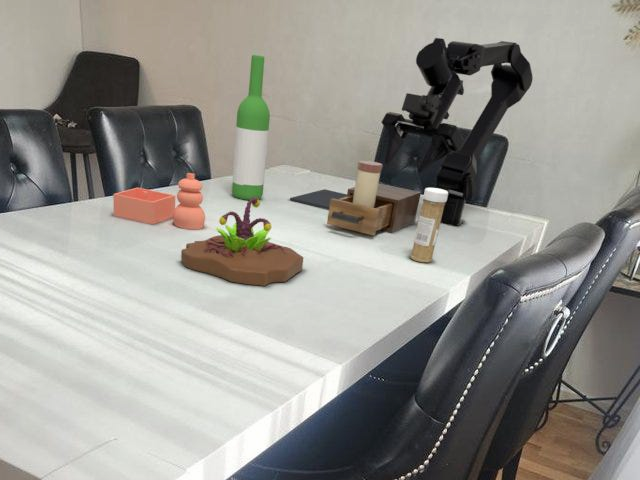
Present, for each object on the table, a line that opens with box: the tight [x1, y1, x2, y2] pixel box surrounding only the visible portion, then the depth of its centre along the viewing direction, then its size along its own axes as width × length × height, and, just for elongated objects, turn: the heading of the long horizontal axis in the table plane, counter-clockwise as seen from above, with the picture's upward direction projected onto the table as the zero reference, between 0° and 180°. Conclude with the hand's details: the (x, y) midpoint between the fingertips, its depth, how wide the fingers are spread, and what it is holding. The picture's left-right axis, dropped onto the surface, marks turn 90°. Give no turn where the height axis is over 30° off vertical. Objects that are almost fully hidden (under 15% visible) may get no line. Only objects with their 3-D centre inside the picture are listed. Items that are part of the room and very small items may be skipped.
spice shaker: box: [352, 160, 383, 208], centre depth 143 cm, size 5×5×12 cm
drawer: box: [326, 195, 394, 236], centre depth 145 cm, size 19×11×5 cm, turn 150°
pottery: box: [112, 172, 206, 230], centre depth 132 cm, size 18×10×10 cm, turn 70°
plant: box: [180, 197, 304, 287], centre depth 112 cm, size 20×20×11 cm
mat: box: [289, 188, 347, 211], centre depth 169 cm, size 20×20×1 cm
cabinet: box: [346, 182, 422, 234], centre depth 155 cm, size 16×13×7 cm
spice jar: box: [410, 187, 448, 264], centre depth 128 cm, size 5×5×14 cm
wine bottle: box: [231, 54, 271, 201], centre depth 154 cm, size 8×8×30 cm
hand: (402, 167), depth 143 cm, fingers open, 9 cm apart
